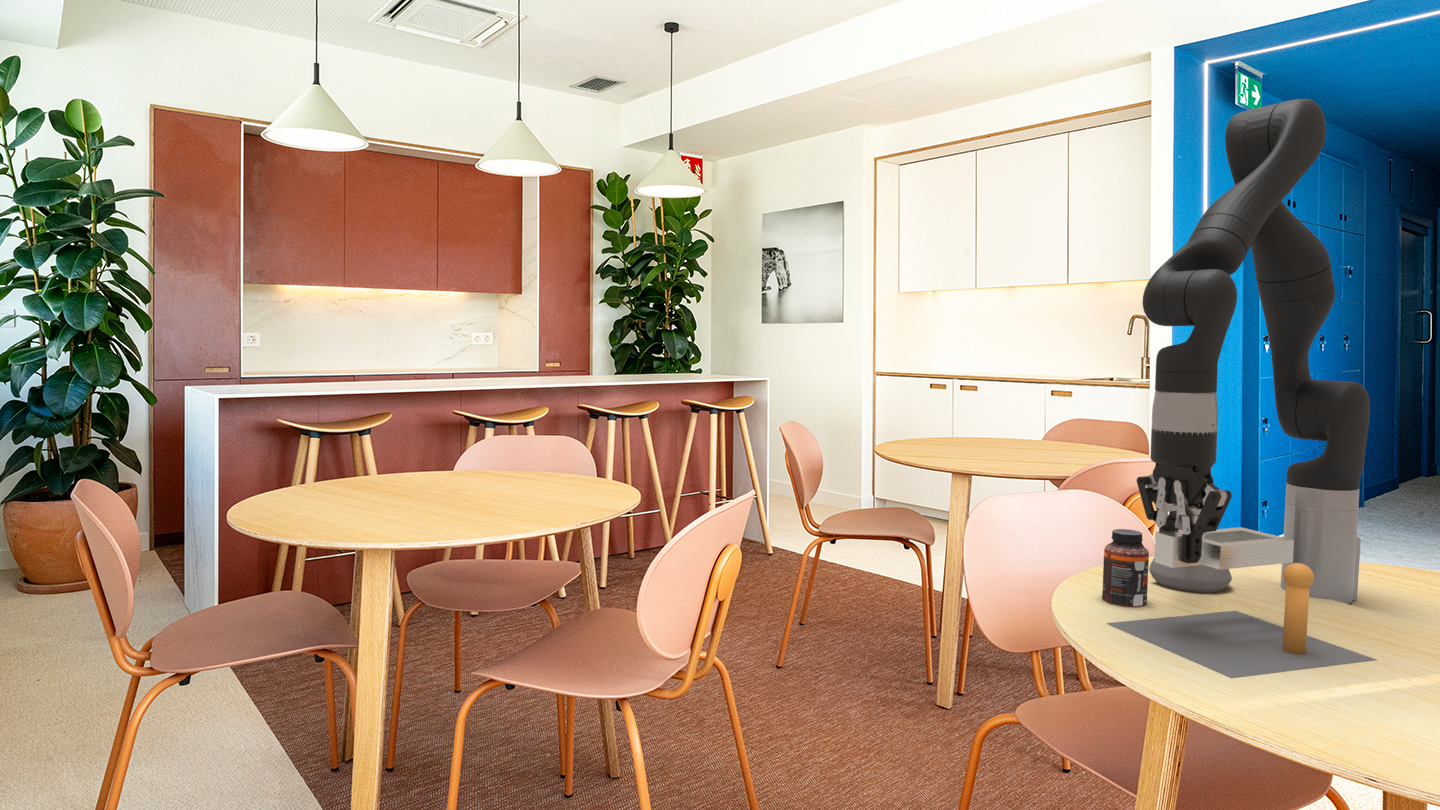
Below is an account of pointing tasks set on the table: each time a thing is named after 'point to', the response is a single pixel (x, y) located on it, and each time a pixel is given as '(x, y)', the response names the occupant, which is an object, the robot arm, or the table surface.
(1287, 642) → the pin
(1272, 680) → the table surface
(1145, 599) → the supplement bottle
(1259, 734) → the table surface
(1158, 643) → the rubber mat
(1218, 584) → the coffee pot
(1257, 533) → the steel link
